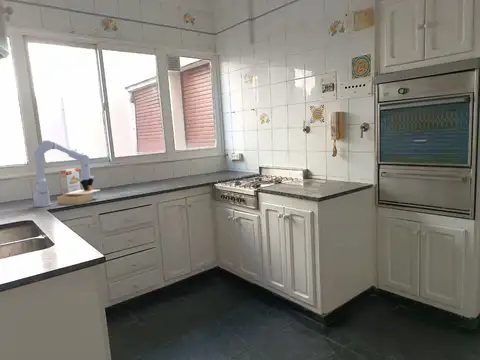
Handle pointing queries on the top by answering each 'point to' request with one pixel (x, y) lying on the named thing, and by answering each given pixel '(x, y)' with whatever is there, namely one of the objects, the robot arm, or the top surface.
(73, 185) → the cracker box
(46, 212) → the top surface
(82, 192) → the lid
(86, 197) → the wooden drawer
